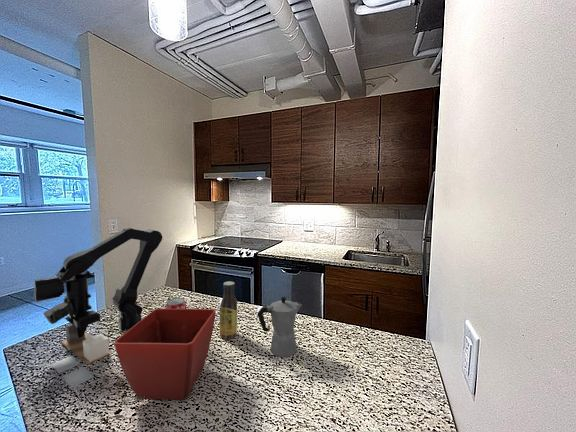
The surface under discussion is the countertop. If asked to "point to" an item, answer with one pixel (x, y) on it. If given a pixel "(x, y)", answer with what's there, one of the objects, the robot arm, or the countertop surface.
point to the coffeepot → (281, 326)
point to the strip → (77, 343)
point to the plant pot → (166, 352)
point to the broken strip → (75, 376)
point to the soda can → (176, 303)
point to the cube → (95, 347)
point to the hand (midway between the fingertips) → (80, 337)
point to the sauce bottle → (228, 312)
